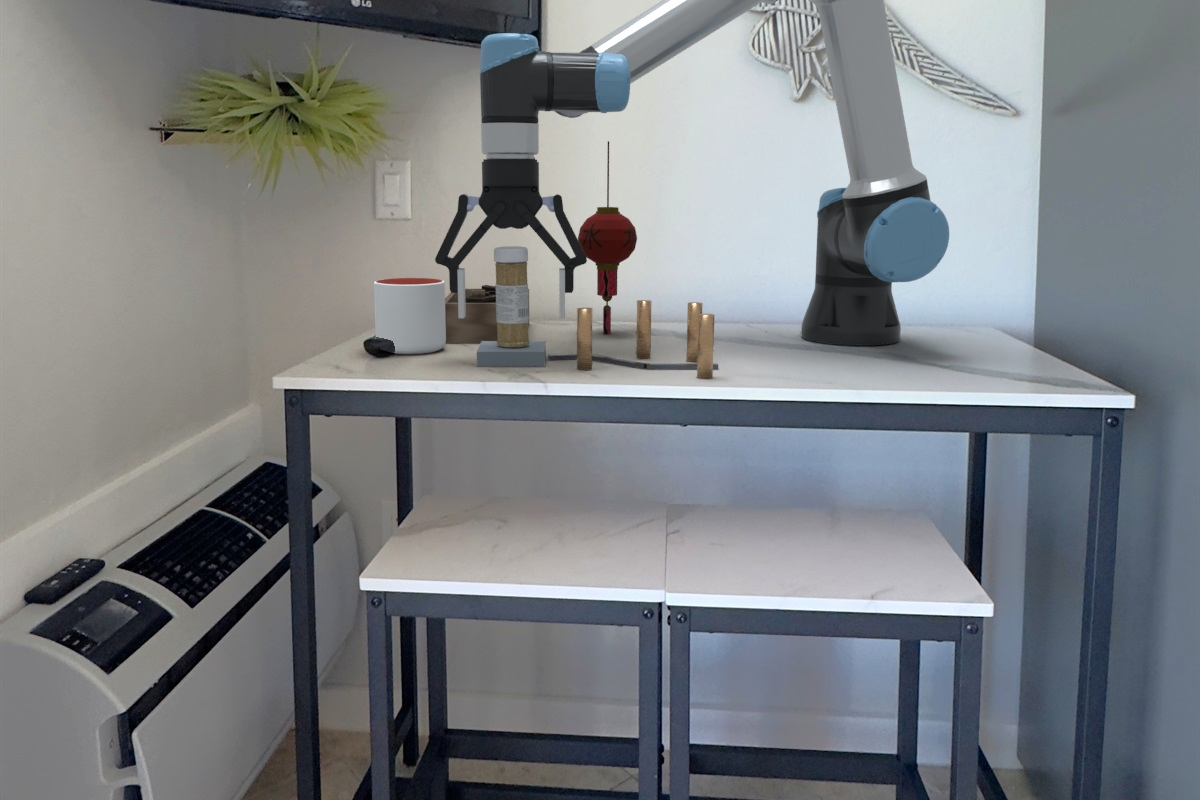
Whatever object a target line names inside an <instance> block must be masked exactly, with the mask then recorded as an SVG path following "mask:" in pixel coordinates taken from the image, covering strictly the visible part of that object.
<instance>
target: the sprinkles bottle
mask: <svg viewBox="0 0 1200 800" xmlns="http://www.w3.org/2000/svg"><path fill="white" fill-rule="evenodd" d="M528 261H529V251H528V248H527V247H525V246H516V245H515V246H512V245H511V246H499V247H494V249H493V262H495V263H494V265H495V286H496V319H497V338H498V340H497V345H498V346H501V347H506V348H518V347H525V346H528V345H529V343H530V342H529V341H530V340H529V329H528V322H529V323H530V304H529V305H528V289H529V284H528Z"/></svg>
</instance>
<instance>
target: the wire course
mask: <svg viewBox="0 0 1200 800" xmlns="http://www.w3.org/2000/svg"><path fill="white" fill-rule="evenodd" d="M686 319H687V323H686V324H687V325H686V357H685V358H686V362H690V363H673V362H672V363H665V362H664V363H663V362H662V363H659V362H658V363H655V362H653V363H648V362H642V361H635V360H628V359H623V358H616V357H611V356H604V355H598V354H593V307H578V308H576V335H577V336H576V353H557V354H555V353H554V354H553V353H552V354H551V353H550V354H548V355H547V357H548V358H547V360H549V361H557V360H558V361H560V360H561V361H562V360H564V361H565V360H576V370H578V371H589V370H591V371H592V369H593V362H600V363H606V364H613V365H617V366H623V367H630V368H636V369H640V370H641V369H642V370H696V378H698V379H706V380H707V379H713V377H714V376H713V375H714V370H719V363H714V345H715V343H714V342H715V341H714V340H715V339H714V337H715V314H714V313H703V302H699V301H690V302H689V301H688V302H687V318H686ZM651 342H652V300H649V299H648V300H647V299H639V300H636V345H635V347H636V348H635V349H636V357H635V358H636V359H638V360H649V359H651V355H652V354H651V346H652V345H651V344H652V343H651Z"/></svg>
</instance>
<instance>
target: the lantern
mask: <svg viewBox="0 0 1200 800" xmlns="http://www.w3.org/2000/svg"><path fill="white" fill-rule="evenodd" d="M606 173H607V178H606V179H607V181H606V183H607V184H606V185H607V187H606V188H607V189H606V190H607V191H606V194H607V195H606V196H607V197H606V206H598V207H596V209H597V210H596V211H595V213H594V214H592V215H590V216H589V217H587V218H586V220H585V221H583V224H582V225H581V226H580V228H579V230H578V237H577V239H578V241H579V243H580V245H581V247H582V249H583V251H584V253H585V255H586V258H587V260H590V261H592V262H593V263H595V266H596V271H597V272H596V273H597V276H596V277H597V278H596V279H597V283H596V285H597V289H596V290H597V291H596V293H597V294H596V295H597V296H600V297H601V299H602V300H603V301H604V302H606V303H605V305H604V306H603V308H602V309H603V312H602V314H603V316H602V317H603V318H602V325H603V327H602V334H603V335H611V332H612V331H611V329H612V328H611V327H612V326H611V325H612V323H611V321H612V319H611V317H612V314H611V313H612V307H611V306H610V305H609V302H610V301H612V299H613V297H616V296H618V270H619V266H620V263H621V262H624V261H626V260H628V259H629V258H630V256H631V255H632V254H633V253H634V251H635V249H636V246H637V241H638V235H637V231H636V227H635V226H634V224H633V223H632V221H631V220H630V218H628V217H627V216H625V215H623V214H622V213H621V212H620V211H619V206H616V207H615V206H610V203H609V201H610V195H609V194H610V192H609V191H610V141H609V140H608V141H607V172H606Z"/></svg>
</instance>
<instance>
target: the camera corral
mask: <svg viewBox="0 0 1200 800" xmlns="http://www.w3.org/2000/svg"><path fill="white" fill-rule="evenodd" d="M472 289H473V288H465V297H468V296H472ZM528 305H529V306H530V288H528ZM445 318H446V343H445V344H480V343H481V341H497V340H498V338H497V319H496V303H466V316H465V318H458V293H451V291H450V293H448V295H447V296H445ZM529 328H530V321H529V322H528V330H529Z"/></svg>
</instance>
